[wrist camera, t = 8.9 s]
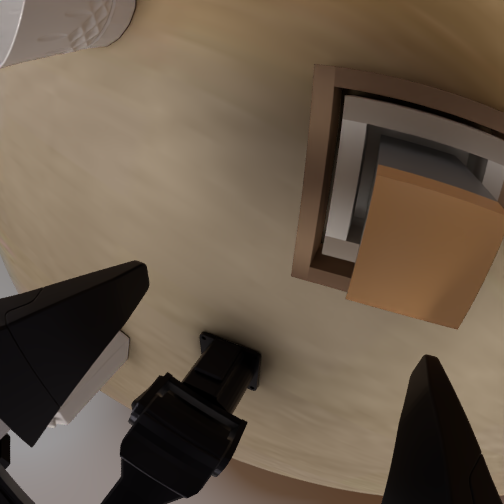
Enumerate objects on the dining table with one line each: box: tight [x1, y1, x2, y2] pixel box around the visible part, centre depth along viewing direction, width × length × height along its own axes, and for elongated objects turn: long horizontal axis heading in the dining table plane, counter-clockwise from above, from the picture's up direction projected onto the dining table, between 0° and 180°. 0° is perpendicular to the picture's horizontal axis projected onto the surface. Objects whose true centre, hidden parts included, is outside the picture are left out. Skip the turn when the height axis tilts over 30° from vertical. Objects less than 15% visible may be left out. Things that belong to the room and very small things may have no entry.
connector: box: [346, 135, 504, 329], centre depth 11 cm, size 4×4×8 cm
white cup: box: [0, 0, 135, 69], centre depth 13 cm, size 8×8×10 cm
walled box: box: [291, 64, 504, 292], centre depth 14 cm, size 12×11×5 cm
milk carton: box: [47, 331, 129, 428], centre depth 33 cm, size 7×7×19 cm
